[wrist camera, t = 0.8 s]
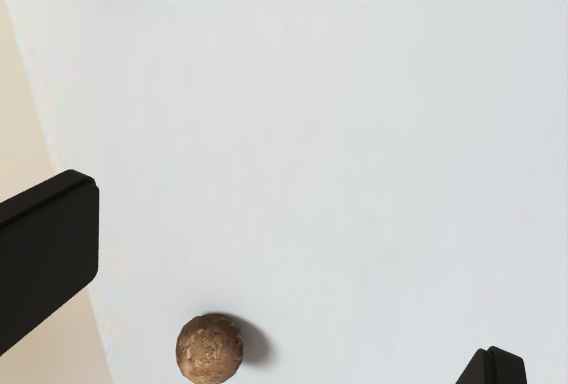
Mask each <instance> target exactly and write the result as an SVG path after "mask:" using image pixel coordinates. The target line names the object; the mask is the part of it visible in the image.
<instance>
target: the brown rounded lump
mask: <svg viewBox="0 0 568 384" xmlns="http://www.w3.org/2000/svg"><path fill="white" fill-rule="evenodd" d="M176 358H177V364H178V366H179V368H180V371H181V373H182V374H183V376H185V377H186V378H188V379H189V380H190V381H192V382H193V383H195V384H220V383H223V382H225V381H226V380H228V379H229V378H230V377H232V376H233V375H234V374H235V373H236V371H237V370H238V368H239V366H240V364H241V362H242V358H243V342H242V338H241V334H240V332H239V330H238V329H237V328H236V326H235V325H234V323H233V322H232V321H230V320H228V319H226V318H225V317H223V316H218V315H204V316H197V317H194V318H193V319H192V320H191V321H189V322H188V323H187V324H186V325H184V327H183V328H182V330H181V332H180V334H179V336H178V338H177V345H176Z"/></svg>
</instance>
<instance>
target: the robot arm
mask: <svg viewBox="0 0 568 384" xmlns="http://www.w3.org/2000/svg"><path fill="white" fill-rule="evenodd" d="M98 249H99V188H98V187H97V186H96V183H95V180H94V179H93V178H92V177H90V176H87V175H85V174H82V173H80V172H78V171H75V170H71V169H69V170H66V171H64V172H62V173H60V174H58V175H56V176H54V177H52V178H50V179H48V180H46V181H44V182H42V183H40V184H38V185H36V186H34V187H32V188H30V189H28V190H26V191H24V192H22V193H19V194H17V195H16V196H13V197H11V198H9V199H7V200H5V201H4V202H1V203H0V356H1V355H2V354H3V353H5V352H6V351H7V350H9V349H10V348H11V347H12V346H14V345H15V344H16V343H17V342H18V341H20V340H21V339H22V338H23V337H24V336H26V335H27V334H28V333H29V332H30V331H32V330H33V329H34V328H35V327H37V326H38V325H39V324H40V323H42V322H43V321H44V320H45V319H46V318H48V317H49V316H50V315H51V314H52V313H54V312H55V311H56V310H57V309H58V308H60V307H61V306H62V305H63V304H65V303H66V302H67V301H68V300H69V299H71V298H72V297H73V296H74V295H76V293H78V292H79V291H80V290H82V289H83V288H84V287H85V286H86V285H88V284H89V283H90V282H91V281H92V280H93V279H94V277H95V276H96V274H97V271H98ZM456 384H527V380H526V373H525V366H524V362H523V359H522V358H521V357H519V356H516V355H514V354H512V353H509V352H507V351H504V350H502V349H500V348H497V347H495V346H491V347H490V348H489V349H488V350H487V351H486V350H484V349H481V348H480V349H478V350H477V352H476V353H475V354H474V356H473V357H472V359H471V361H470V362H469V364H468V365H467V367H466V368H465V370H464V371H463V373H462V374H461V376H460V377H459V379H458V381H457V382H456Z"/></svg>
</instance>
